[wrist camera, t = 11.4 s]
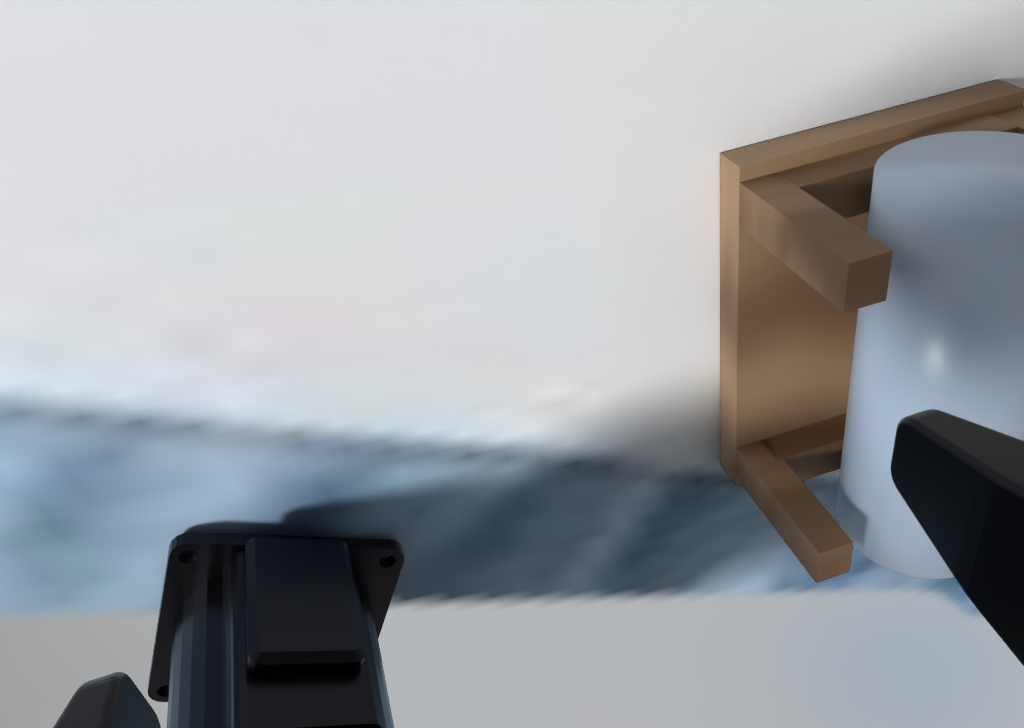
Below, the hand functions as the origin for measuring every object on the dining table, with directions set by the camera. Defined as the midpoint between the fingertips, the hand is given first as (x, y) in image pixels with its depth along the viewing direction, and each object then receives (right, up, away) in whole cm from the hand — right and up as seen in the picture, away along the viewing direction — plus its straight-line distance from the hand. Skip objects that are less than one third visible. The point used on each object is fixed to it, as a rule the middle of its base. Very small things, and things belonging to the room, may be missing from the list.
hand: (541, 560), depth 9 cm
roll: (+10, +3, +14) cm, 17 cm away
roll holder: (+9, +4, +15) cm, 19 cm away
